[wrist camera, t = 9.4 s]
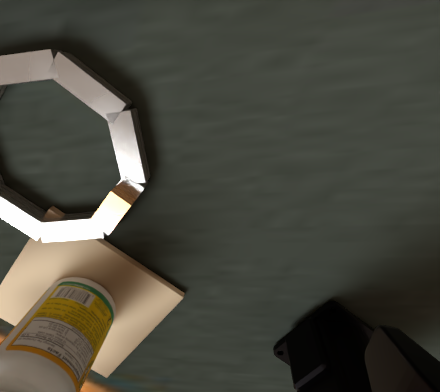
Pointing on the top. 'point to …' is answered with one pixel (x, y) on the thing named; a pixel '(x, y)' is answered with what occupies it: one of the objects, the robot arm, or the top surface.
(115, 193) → the grey octagonal ring
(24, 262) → the coaster
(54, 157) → the top surface
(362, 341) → the robot arm
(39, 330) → the supplement bottle
